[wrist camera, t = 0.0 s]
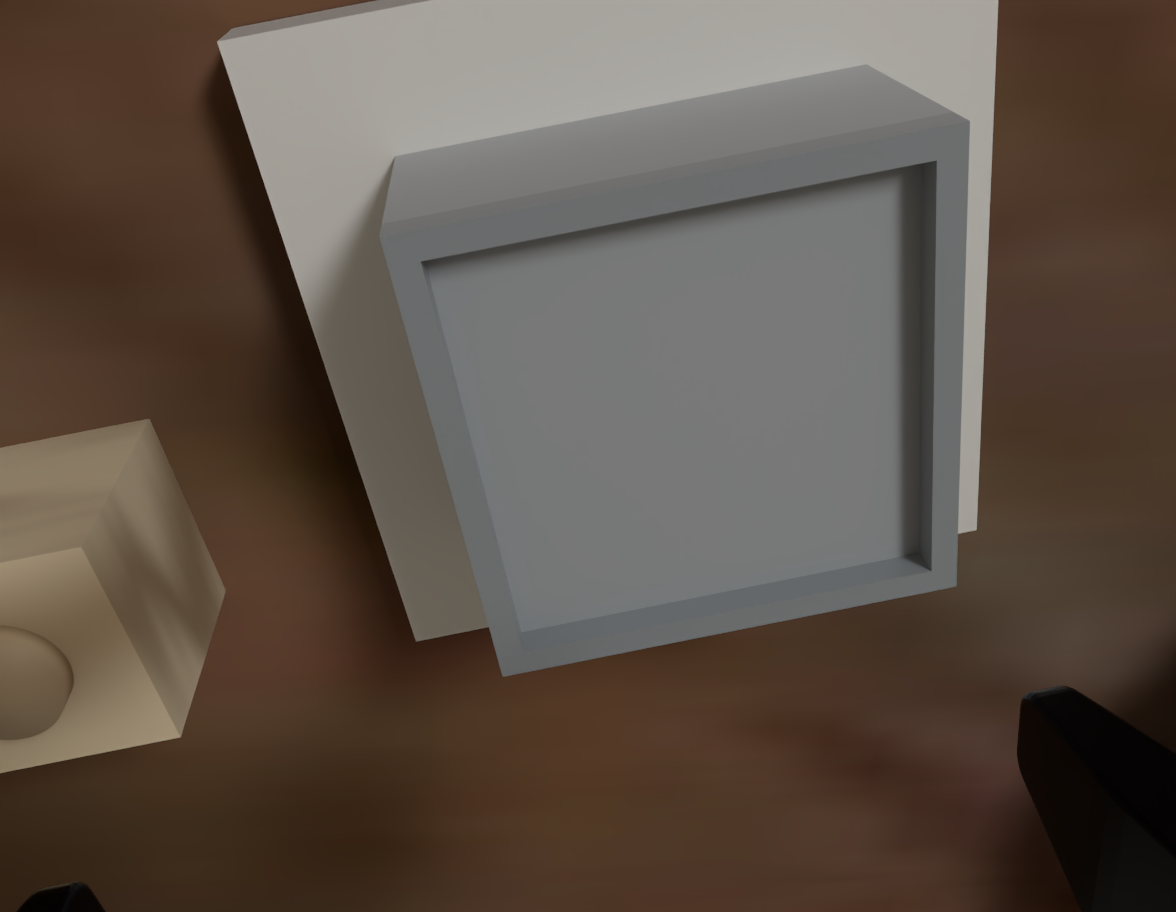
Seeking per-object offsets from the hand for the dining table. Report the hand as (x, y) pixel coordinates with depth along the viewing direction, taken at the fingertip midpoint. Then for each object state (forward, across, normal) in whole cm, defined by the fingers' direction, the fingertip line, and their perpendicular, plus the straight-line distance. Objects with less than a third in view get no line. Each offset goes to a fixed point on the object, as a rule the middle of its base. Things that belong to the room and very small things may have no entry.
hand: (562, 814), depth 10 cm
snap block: (+15, +11, +4) cm, 19 cm away
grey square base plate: (+15, -3, +1) cm, 15 cm away
